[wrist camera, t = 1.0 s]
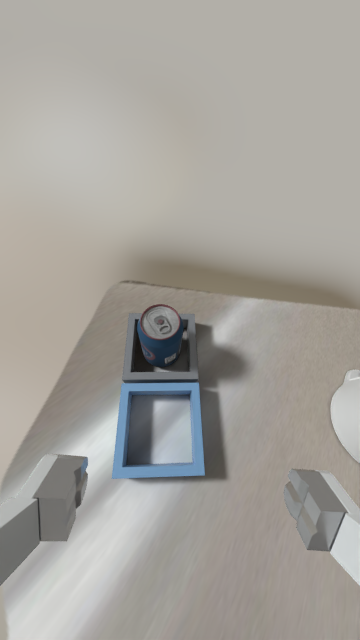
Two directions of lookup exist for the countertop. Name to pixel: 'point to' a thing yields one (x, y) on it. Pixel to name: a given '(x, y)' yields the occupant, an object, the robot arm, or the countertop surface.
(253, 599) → the countertop surface
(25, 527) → the robot arm
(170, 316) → the soda can
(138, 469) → the frame
